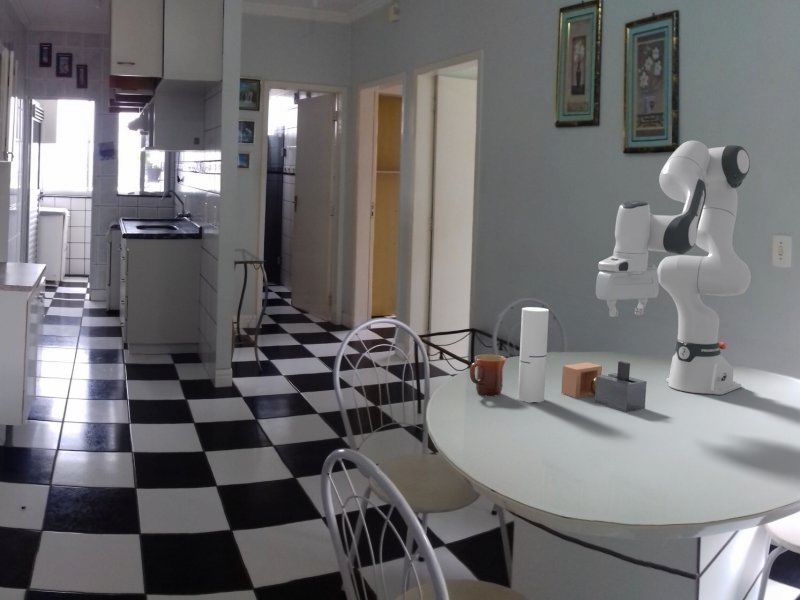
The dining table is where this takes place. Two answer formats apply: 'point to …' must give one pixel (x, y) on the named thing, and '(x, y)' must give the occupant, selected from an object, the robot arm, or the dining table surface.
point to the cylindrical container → (533, 354)
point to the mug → (488, 374)
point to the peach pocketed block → (579, 378)
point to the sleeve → (620, 392)
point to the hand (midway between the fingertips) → (626, 315)
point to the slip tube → (622, 374)
